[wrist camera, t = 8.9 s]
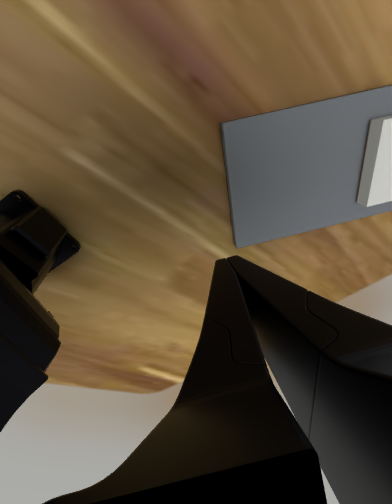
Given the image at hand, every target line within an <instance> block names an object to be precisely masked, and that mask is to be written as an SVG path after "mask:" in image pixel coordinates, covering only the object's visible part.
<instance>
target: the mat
mask: <svg viewBox="0 0 392 504" xmlns="http://www.w3.org/2000/svg"><path fill="white" fill-rule="evenodd" d="M390 115H392V85H389V86H384V87H380V88H376V89H371V90H367V91H362V92H358V93H353V94H349V95H344V96H340V97H335V98H331V99H326V100H322V101H317V102H313V103H308V104H304V105H299V106H295V107H290V108H286V109H281V110H277V111H272V112H268V113H263V114H259V115H254V116H250V117H245V118H241V119H236V120H232V121H227V122H223V123H220V127H221V135H222V144H223V152H224V161H225V169H226V178H227V186H228V195H229V203H230V211H231V220H232V228H233V237H234V245H235V246H236V248H241V247H245V246H249V245H253V244H258V243H262V242H266V241H270V240H274V239H278V238H282V237H286V236H290V235H294V234H298V233H302V232H307V231H311V230H315V229H319V228H323V227H327V226H331V225H335V224H339V223H343V222H347V221H351V220H356V219H360V218H364V217H368V216H372V215H376V214H380V213H384V212H388V211H392V201H389V202H385V203H381V204H377V205H373V206H369V207H366V206H363V205H361V204H359V203H357V197H358V191H359V185H360V179H361V173H362V168H363V162H364V156H365V150H366V144H367V138H368V132H369V126H370V122H371V120H373V119H377V118H381V117H386V116H390Z"/></svg>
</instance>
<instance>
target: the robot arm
mask: <svg viewBox="0 0 392 504" xmlns="http://www.w3.org/2000/svg"><path fill="white" fill-rule="evenodd" d="M16 195H19V196H20V198H21V199H17V198H16ZM72 245H74V246H76V248H73V247H72ZM80 247H81V246H80V244H79V242H77V241H76V240H75V239H74V238H73V237H72V236H71V235H70V234H69V233H68V232H67V230H66V229H65V228H64V227H63V226H62V225H61V224H60V223H59V222H58V221H57V220H56V219H54V218H53V217H52V216H51V215H50V214H49V213H48V212H47V211H46V210H45V209H44V208H41V207H39V206H38V205H37V204H36V203H35V202H34V201H33V200H31V199H30V198H29V197H28V196H27V195H26V194H25V193H24V192H22V191H20V190H15V191H13V192H11V193H10V194H8V195H7V196H6V197H5V198H3V199H2V200H1V201H0V432H1V431H2V429H3V427H4V426H5V425H6V424H7V422H8V421H9V419H10V418H11V417H12V415H13V414H14V413H15V412H16V410H17V409H18V408H19V407H20V406H21V405H22V403H24V402H25V400H26V399H27V398H28V397H29V396H30V395H31V394H32V393H33V392H34V391H35V390H37V389H38V388H39V387H40V386H41V385H42V384H43V383H45V382H46V381H47V379H48V375H47V374H45V371H46V370H47V368H48V366H49V365H50V363H51V362H52V360H53V359H54V357H55V356H56V354H57V351H58V349H59V347H60V344H61V342H60V341H59V340H58V338H59V325H58V323H57V322H56V320H55V319H54V317H53V315H52V314H51V313H50V312H49V311H47V310H46V309H45V308H44V307H43V306H42V304H41V303H40V302H39V301H38V300H37V299H36V298H35V297H34V295H33V294H34V293H35V291H36V290H37V288H38V287H39V285H40V284H41V282H42V281H43V279H44V278H45V276H46V275H47V273H49V272H50V271H51V270H53V269H54V268H56V267H57V266H59V265H60V264H61V263H63V262H64V261H66V260H67V259H68V258H70V257H71V256H73V255H74V254H75V253H77V252H78V251H79V250H80ZM264 358H265V359H266V361H267V363H268V365H269V367H270V369H271V371H272V373H273V375H274V377H275V379H276V381H277V383H278V385H279V386H280V389H281V391H282V393H283V394H284V396H285V398H286V400H287V402H288V404H289V406H290V408H291V410H292V412H293V414H294V416H295V417H294V416H293V414H292V413H291V411H290V410H289V408H288V406H287V405H286V403H285V402H284V400H283V399H282V397H281V395H280V394H279V392H278V391H277V389H276V387H275V386H274V384H273V381H272V379H271V376H270V374H269V371H268V368H267V365H266V362H265V359H264ZM295 418H296V419H295ZM296 420H297V421H296ZM320 467H321V468H322V470H323V472H324V474H325V476H326V478H327V480H328V482H329V484H330V486H331V488H332V490H333V492H334V494H335V496H336V498H337V500H338V501H339V503H340V504H392V325H389V324H386V323H384V322H382V321H379V320H377V319H374V318H371V317H369V316H366V315H364V314H361V313H359V312H356V311H354V310H351V309H349V308H346V307H344V306H342V305H339V304H337V303H334V302H332V301H330V300H328V299H326V298H324V297H321V296H319V295H317V294H315V293H313V292H311V291H308V290H307V289H305V288H303V287H301V286H299V285H297V284H295V283H293V282H291V281H288V280H286V279H284V278H282V277H280V276H278V275H276V274H274V273H272V272H270V271H268V270H266V269H264V268H262V267H260V266H258V265H256V264H254V263H252V262H250V261H248V260H246V259H244V258H242V257H240V256H237V255H235V256H231V257H228V258H227V259H226V258H223V259H219V260H216V262H215V266H214V271H213V276H212V281H211V286H210V291H209V296H208V301H207V306H206V311H205V318H204V321H203V326H202V330H201V334H200V338H199V341H198V344H197V347H196V350H195V353H194V356H193V358H192V361H191V364H190V366H189V369H188V372H187V374H186V377H185V380H184V382H183V385H182V388H181V390H180V393H179V395H178V397H177V399H176V402H175V403H174V405H173V407H172V408H171V410H170V411H169V412H168V414H167V415H166V416H165V417H164V418H163V419H162V420H161V422H160V423H159V424H158V425H157V426H156V427H155V428H154V429H153V430H152V431H151V432H150V434H149V435H148V436H147V437H146V438H145V439H144V440H143V441H142V442H141V444H140V445H139V446H138V447H137V448H136V449H135V450H134V452H132V453H131V455H130V456H129V457H128V458H127V459H126V460H125V461H124V462H123V463H122V464H121V465H120V466H119V467H118V468H117V469H116V470H115V471H114V472H113V473H111V474H110V475H109V476H107V477H106V478H105V479H103V480H101V481H100V482H98V483H96V484H94V485H93V486H91V487H88V488H85V489H83V490H80V491H76V492H73V493H69V494H65V495H62V496H59V497H56V498H53V499H51V500H48V501H47V502H45V503H43V504H327V500H326V495H325V490H324V485H323V479H322V474H321V468H320Z"/></svg>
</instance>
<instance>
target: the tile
mask: <svg viewBox="0 0 392 504" xmlns="http://www.w3.org/2000/svg"><path fill="white" fill-rule="evenodd" d="M389 201H392V115H390V116H386V117H381V118H377V119H373V120H371V122H370V126H369V132H368V138H367V144H366V150H365V156H364V162H363V168H362V173H361V179H360V185H359V191H358V197H357V203H359V204H361V205H363V206H366V207H369V206H373V205H377V204H381V203H385V202H389Z"/></svg>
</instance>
